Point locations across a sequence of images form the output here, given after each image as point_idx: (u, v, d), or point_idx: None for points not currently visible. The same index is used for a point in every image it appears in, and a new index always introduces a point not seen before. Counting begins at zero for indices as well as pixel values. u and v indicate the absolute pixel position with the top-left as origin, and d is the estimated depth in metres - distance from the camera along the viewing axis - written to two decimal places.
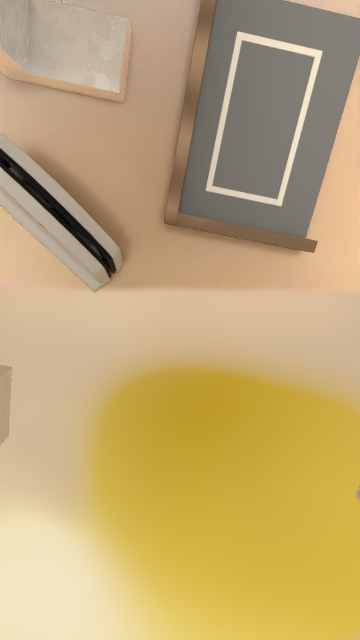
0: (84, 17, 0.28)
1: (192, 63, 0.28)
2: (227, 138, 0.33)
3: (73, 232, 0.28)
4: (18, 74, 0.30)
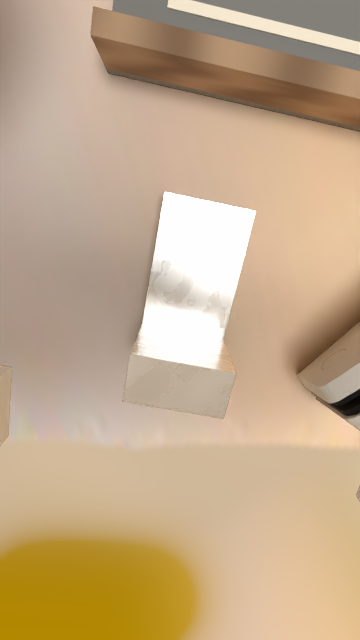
0: (164, 255, 0.21)
1: (242, 68, 0.16)
2: (320, 21, 0.19)
3: None
4: None
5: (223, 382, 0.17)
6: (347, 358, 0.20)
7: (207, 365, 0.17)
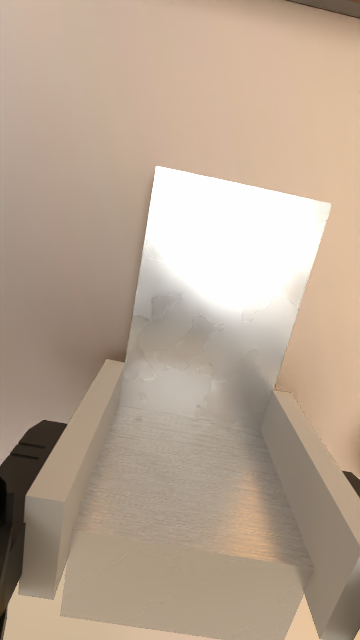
0: (156, 286, 0.11)
1: None
2: None
3: None
4: None
5: (285, 584, 0.08)
6: None
7: (248, 543, 0.08)
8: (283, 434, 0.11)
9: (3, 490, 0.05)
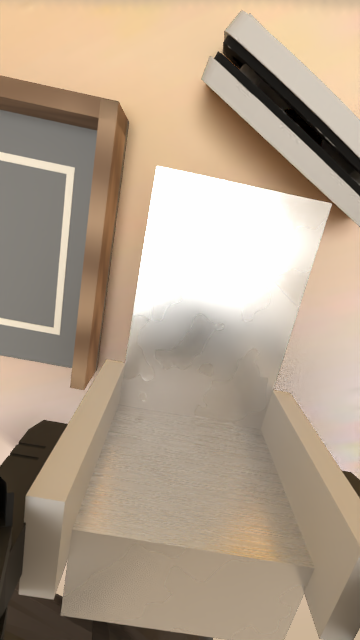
0: (156, 285, 0.11)
1: (93, 300, 0.25)
2: (55, 233, 0.27)
3: (274, 84, 0.17)
4: None
5: (285, 584, 0.08)
6: None
7: (248, 543, 0.08)
8: (282, 433, 0.11)
9: (3, 490, 0.05)
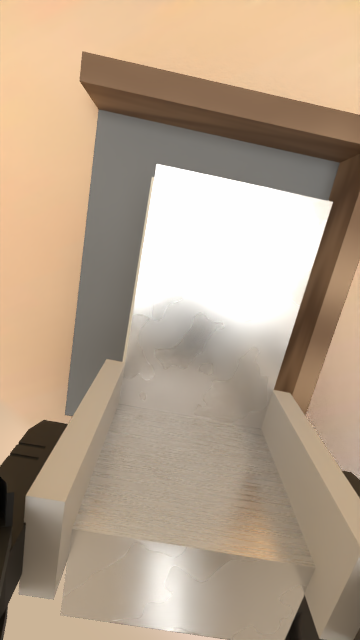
0: (156, 284, 0.11)
1: (315, 378, 0.19)
2: None
3: None
4: None
5: (286, 583, 0.08)
6: None
7: (249, 542, 0.08)
8: (283, 433, 0.11)
9: (3, 490, 0.05)
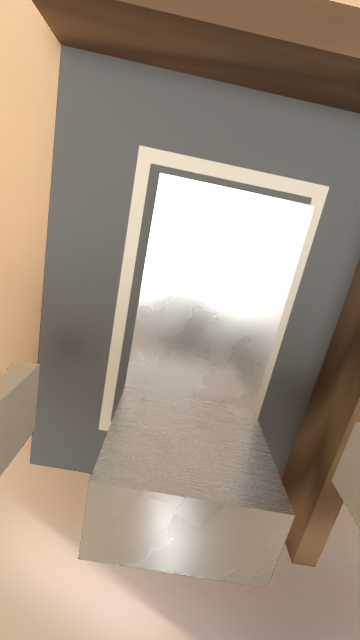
0: (159, 279, 0.13)
1: None
2: None
3: None
4: None
5: (270, 530, 0.09)
6: None
7: (238, 495, 0.09)
8: None
9: None
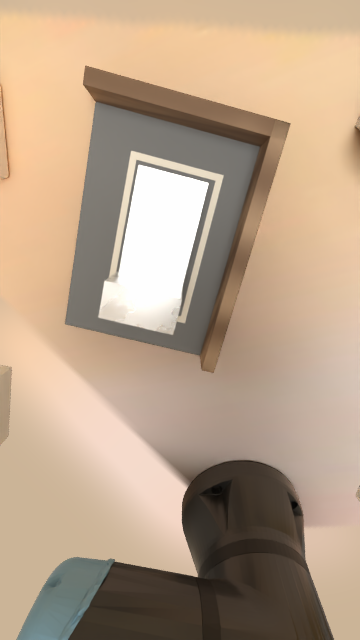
0: (137, 214, 0.27)
1: (236, 294, 0.28)
2: None
3: None
4: None
5: (173, 305, 0.24)
6: None
7: (161, 293, 0.24)
8: None
9: None
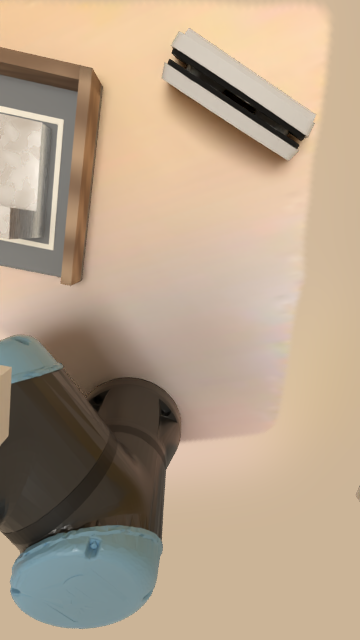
0: None
1: (76, 214, 0.34)
2: (49, 169, 0.36)
3: (206, 73, 0.27)
4: (39, 221, 0.36)
5: (4, 213, 0.30)
6: None
7: None
8: None
9: None
